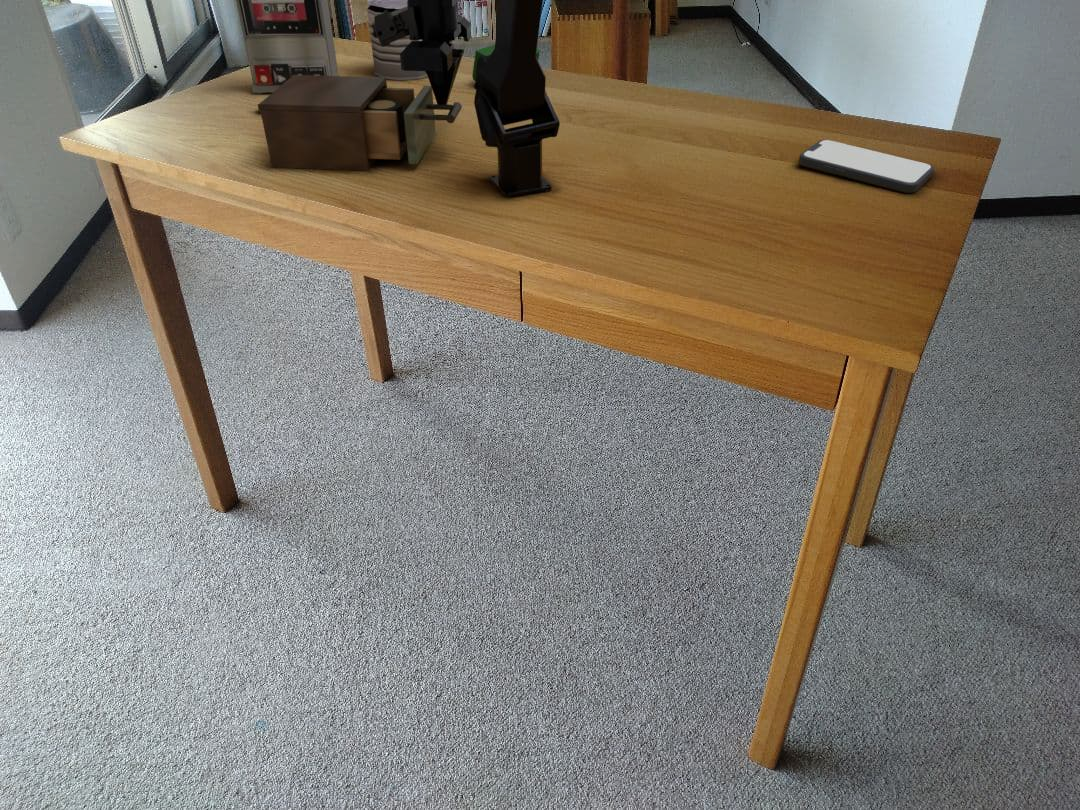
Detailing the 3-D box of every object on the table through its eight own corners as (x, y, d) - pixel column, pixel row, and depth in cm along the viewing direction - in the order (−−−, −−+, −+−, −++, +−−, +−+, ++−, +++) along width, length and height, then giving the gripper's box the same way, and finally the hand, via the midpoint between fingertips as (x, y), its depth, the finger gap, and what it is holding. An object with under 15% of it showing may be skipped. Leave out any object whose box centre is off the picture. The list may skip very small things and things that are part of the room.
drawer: (468, 134, 121) (465, 86, 117) (452, 165, 111) (448, 114, 107) (352, 131, 123) (346, 83, 118) (327, 161, 113) (319, 110, 109)
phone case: (934, 176, 110) (820, 148, 118) (937, 165, 109) (823, 137, 117) (911, 197, 105) (794, 166, 113) (915, 185, 104) (796, 155, 112)
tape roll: (400, 130, 119) (396, 96, 116) (410, 142, 115) (406, 107, 112) (362, 135, 118) (357, 101, 115) (371, 148, 114) (366, 112, 111)
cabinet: (392, 136, 123) (386, 77, 118) (368, 170, 112) (360, 106, 107) (304, 134, 124) (293, 74, 119) (271, 167, 113) (258, 103, 108)
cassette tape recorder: (252, 94, 140) (217, -75, 125) (261, 84, 145) (228, -80, 130) (335, 93, 140) (309, -76, 125) (340, 83, 145) (317, -81, 130)
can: (371, 66, 154) (362, -5, 147) (431, 61, 156) (426, -9, 149) (378, 82, 145) (369, 8, 138) (442, 77, 148) (436, 4, 140)
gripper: (391, -28, 117) (403, 85, 126) (353, 0, 102) (370, 126, 112) (468, -27, 116) (474, 87, 126) (442, 1, 101) (451, 128, 111)
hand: (442, 106), depth 118 cm, fingers closed
